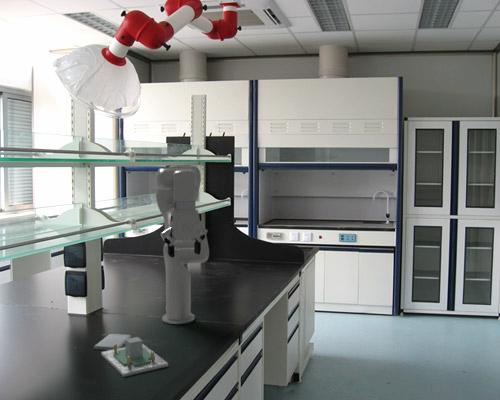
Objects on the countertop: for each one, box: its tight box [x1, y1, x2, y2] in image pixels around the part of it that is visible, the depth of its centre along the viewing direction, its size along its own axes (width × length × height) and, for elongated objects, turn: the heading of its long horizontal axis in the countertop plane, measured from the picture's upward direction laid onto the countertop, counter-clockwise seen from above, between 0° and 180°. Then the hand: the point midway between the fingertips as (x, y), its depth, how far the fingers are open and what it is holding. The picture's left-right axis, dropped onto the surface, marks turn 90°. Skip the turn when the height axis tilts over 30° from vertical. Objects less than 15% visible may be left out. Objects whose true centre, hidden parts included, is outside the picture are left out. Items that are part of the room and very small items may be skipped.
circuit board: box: [113, 336, 155, 367], centre depth 162 cm, size 14×10×6 cm
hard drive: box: [93, 333, 132, 351], centre depth 178 cm, size 2×8×12 cm
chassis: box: [100, 343, 169, 378], centre depth 162 cm, size 20×14×4 cm
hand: (184, 255), depth 181 cm, fingers open, 9 cm apart
